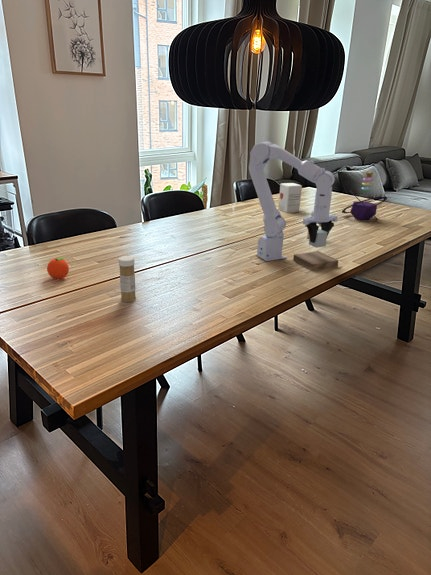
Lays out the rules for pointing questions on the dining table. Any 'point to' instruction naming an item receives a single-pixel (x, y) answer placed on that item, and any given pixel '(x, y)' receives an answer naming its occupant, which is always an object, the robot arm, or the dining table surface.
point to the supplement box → (289, 197)
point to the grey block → (319, 239)
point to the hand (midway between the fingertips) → (317, 241)
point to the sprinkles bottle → (127, 278)
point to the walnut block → (315, 260)
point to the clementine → (58, 268)
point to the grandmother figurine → (316, 223)
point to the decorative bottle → (364, 203)
